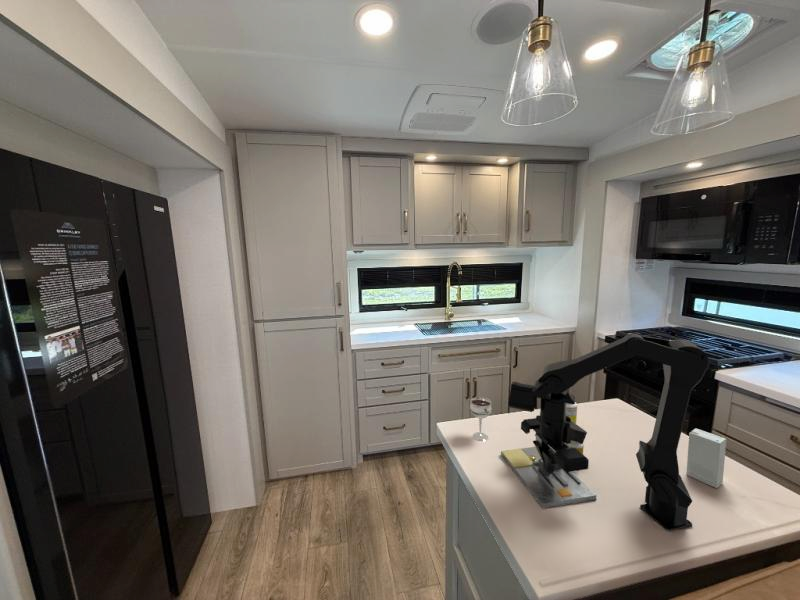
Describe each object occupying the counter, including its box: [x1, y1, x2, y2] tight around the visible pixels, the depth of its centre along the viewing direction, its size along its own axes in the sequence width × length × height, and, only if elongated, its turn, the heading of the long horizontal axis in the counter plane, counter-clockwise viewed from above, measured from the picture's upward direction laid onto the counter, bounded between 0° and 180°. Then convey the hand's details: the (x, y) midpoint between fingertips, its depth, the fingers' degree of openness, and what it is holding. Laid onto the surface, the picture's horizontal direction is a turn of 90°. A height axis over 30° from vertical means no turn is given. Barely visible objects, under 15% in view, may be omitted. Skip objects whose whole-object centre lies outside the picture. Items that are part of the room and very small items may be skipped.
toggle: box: [538, 459, 549, 475], centre depth 81 cm, size 2×2×3 cm
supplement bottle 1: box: [566, 401, 578, 425], centre depth 106 cm, size 6×6×10 cm
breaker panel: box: [500, 446, 597, 509], centre depth 82 cm, size 20×14×2 cm
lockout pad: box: [501, 448, 533, 468], centre depth 87 cm, size 7×6×1 cm
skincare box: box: [686, 428, 727, 489], centre depth 79 cm, size 6×4×12 cm
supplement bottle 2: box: [565, 441, 585, 455], centre depth 86 cm, size 5×5×8 cm
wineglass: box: [469, 396, 492, 442], centre depth 99 cm, size 7×7×12 cm
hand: (549, 472), depth 79 cm, fingers closed
